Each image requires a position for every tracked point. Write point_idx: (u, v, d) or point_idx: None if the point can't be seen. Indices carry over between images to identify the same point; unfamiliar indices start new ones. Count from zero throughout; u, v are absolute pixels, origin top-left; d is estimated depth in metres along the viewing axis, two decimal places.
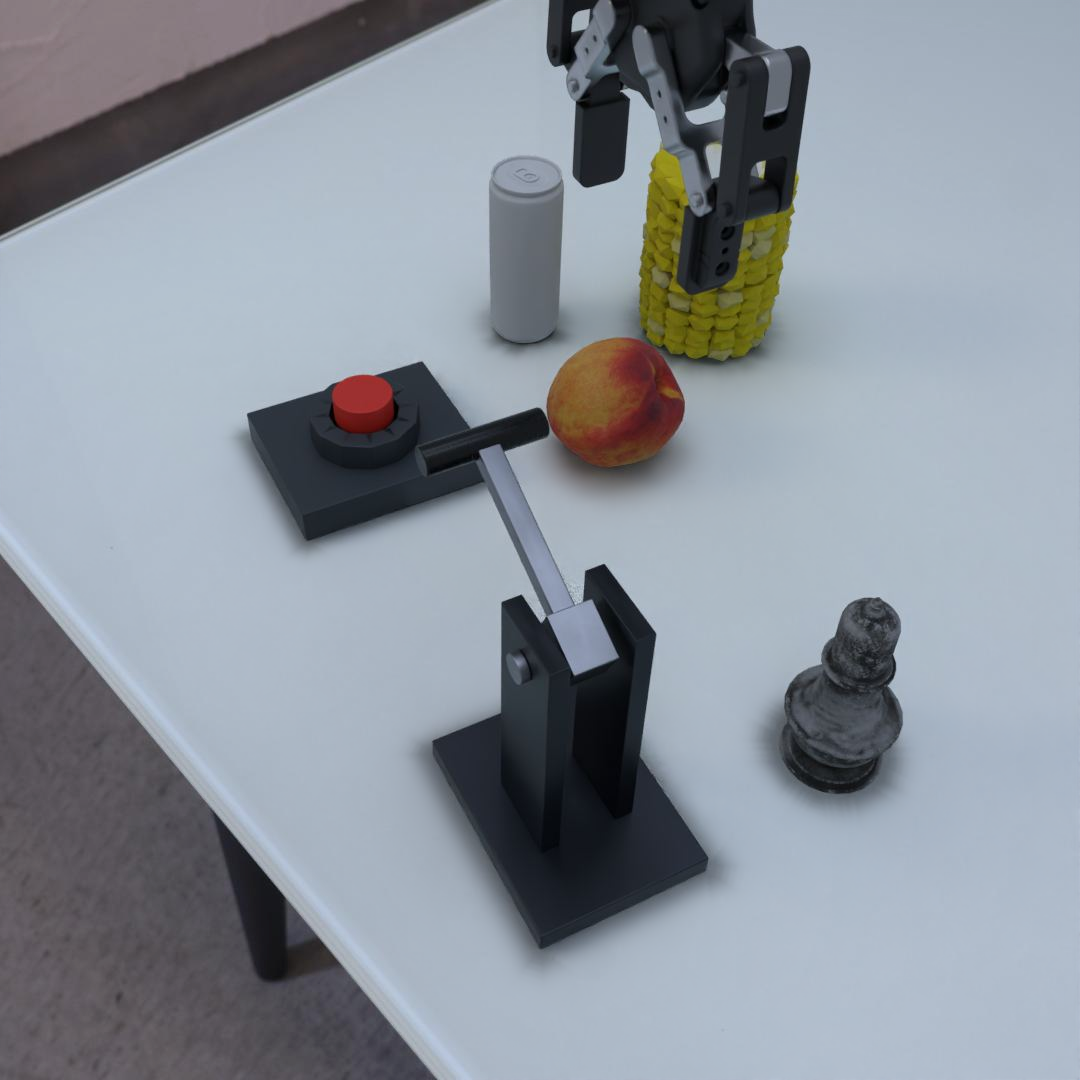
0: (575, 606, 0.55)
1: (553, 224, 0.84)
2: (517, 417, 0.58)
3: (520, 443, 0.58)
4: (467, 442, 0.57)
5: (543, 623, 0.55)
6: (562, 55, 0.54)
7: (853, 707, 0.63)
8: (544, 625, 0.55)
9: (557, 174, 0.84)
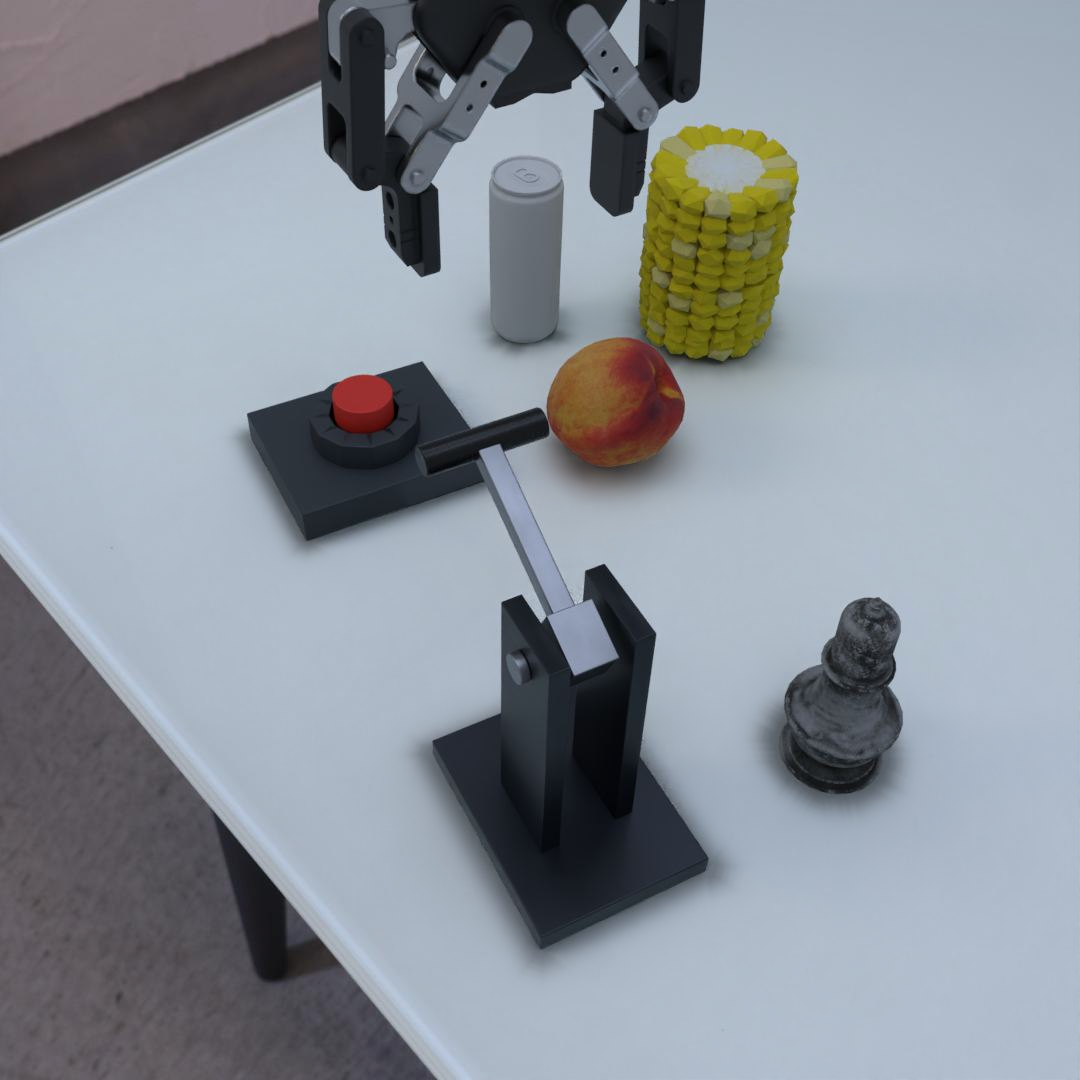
0: (575, 606, 0.55)
1: (553, 224, 0.84)
2: (517, 417, 0.58)
3: (520, 443, 0.58)
4: (467, 442, 0.57)
5: (543, 623, 0.55)
6: None
7: (853, 707, 0.63)
8: (544, 625, 0.55)
9: (557, 174, 0.84)
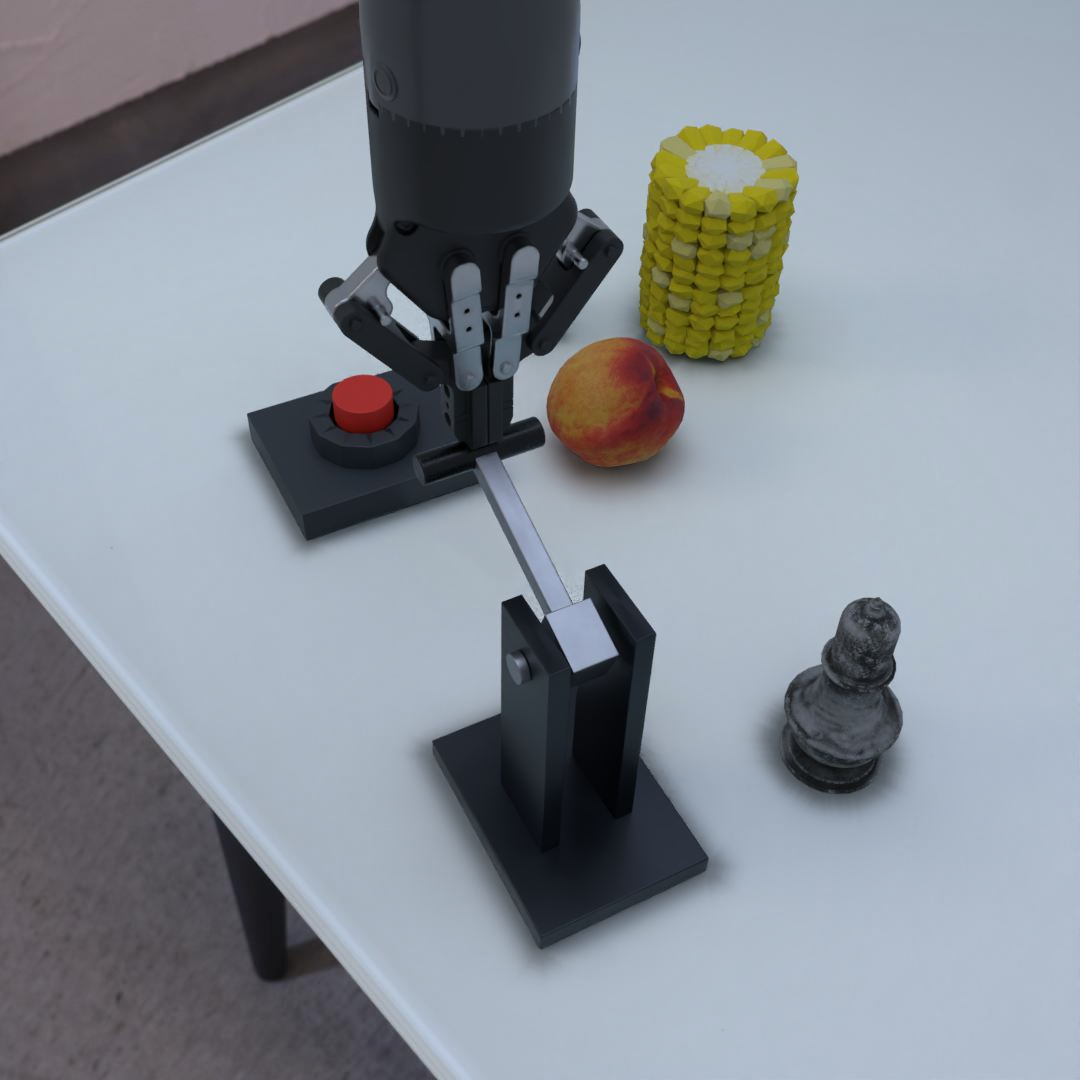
0: (573, 605, 0.55)
1: None
2: (513, 426, 0.59)
3: (517, 451, 0.59)
4: (463, 450, 0.58)
5: (542, 623, 0.55)
6: None
7: (853, 707, 0.63)
8: (543, 625, 0.55)
9: None
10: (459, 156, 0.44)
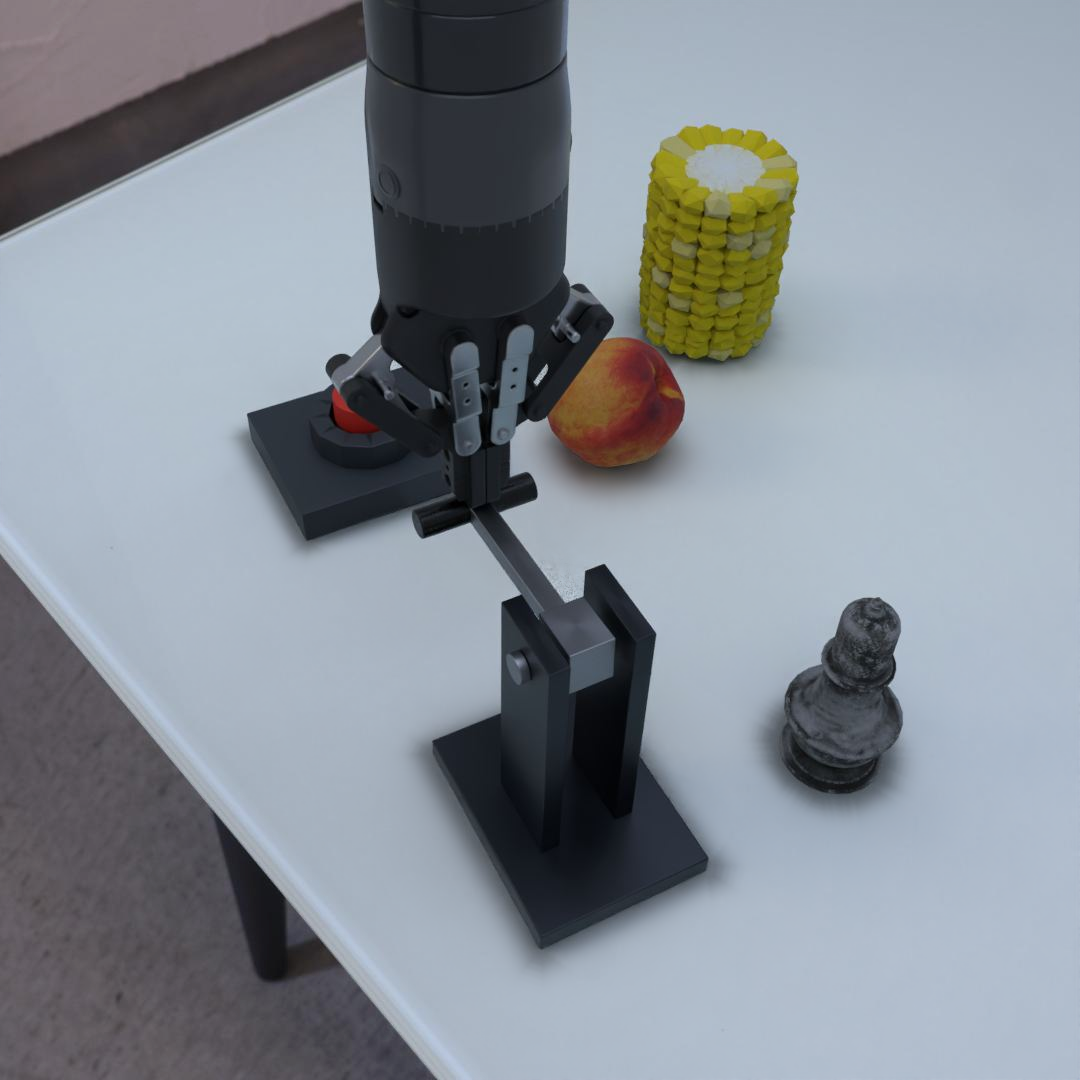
0: (567, 603, 0.56)
1: None
2: None
3: (510, 500, 0.62)
4: (457, 500, 0.61)
5: None
6: None
7: (853, 707, 0.63)
8: None
9: None
10: (458, 250, 0.48)
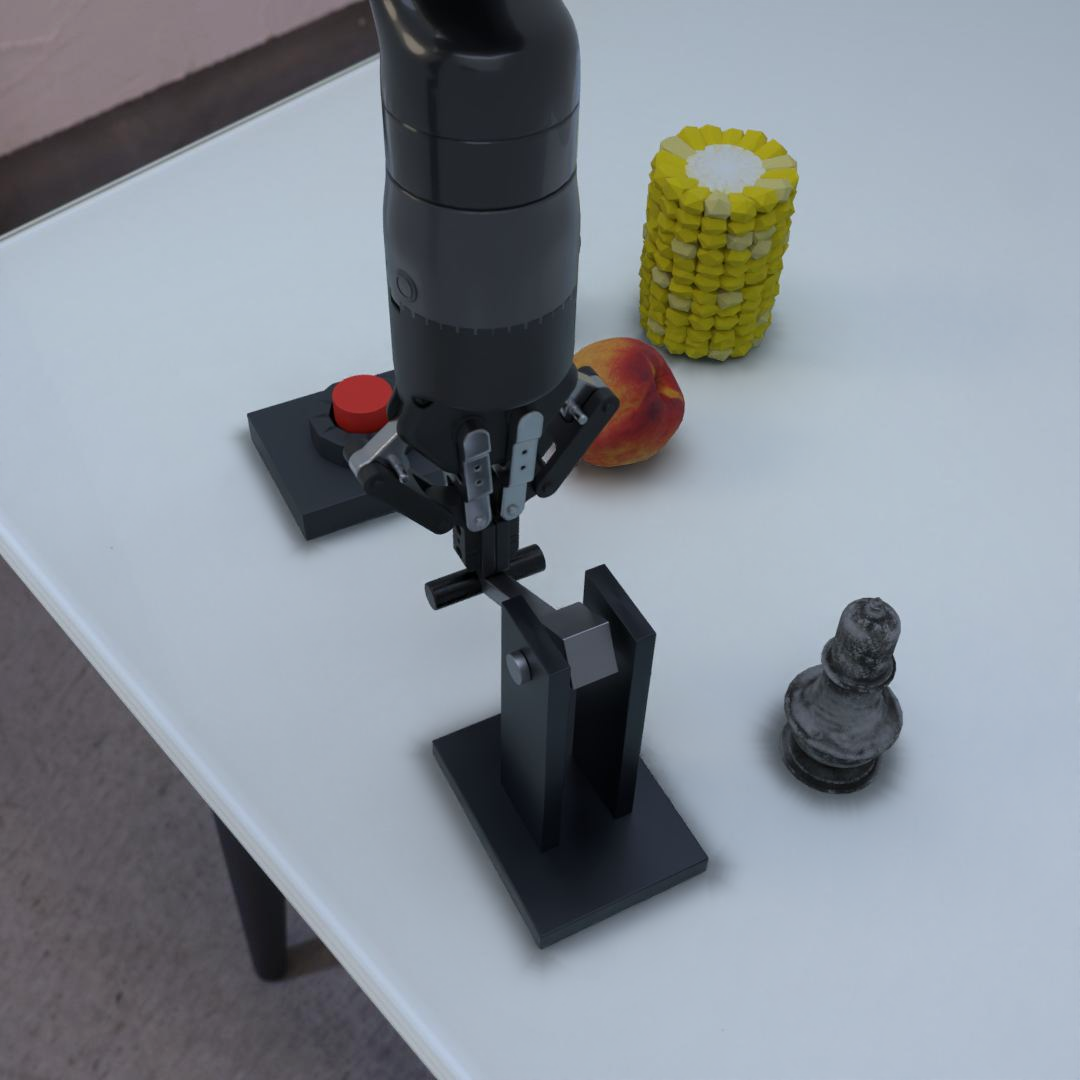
0: None
1: None
2: None
3: (518, 566, 0.64)
4: (465, 570, 0.64)
5: None
6: None
7: (853, 707, 0.63)
8: None
9: None
10: (472, 349, 0.50)
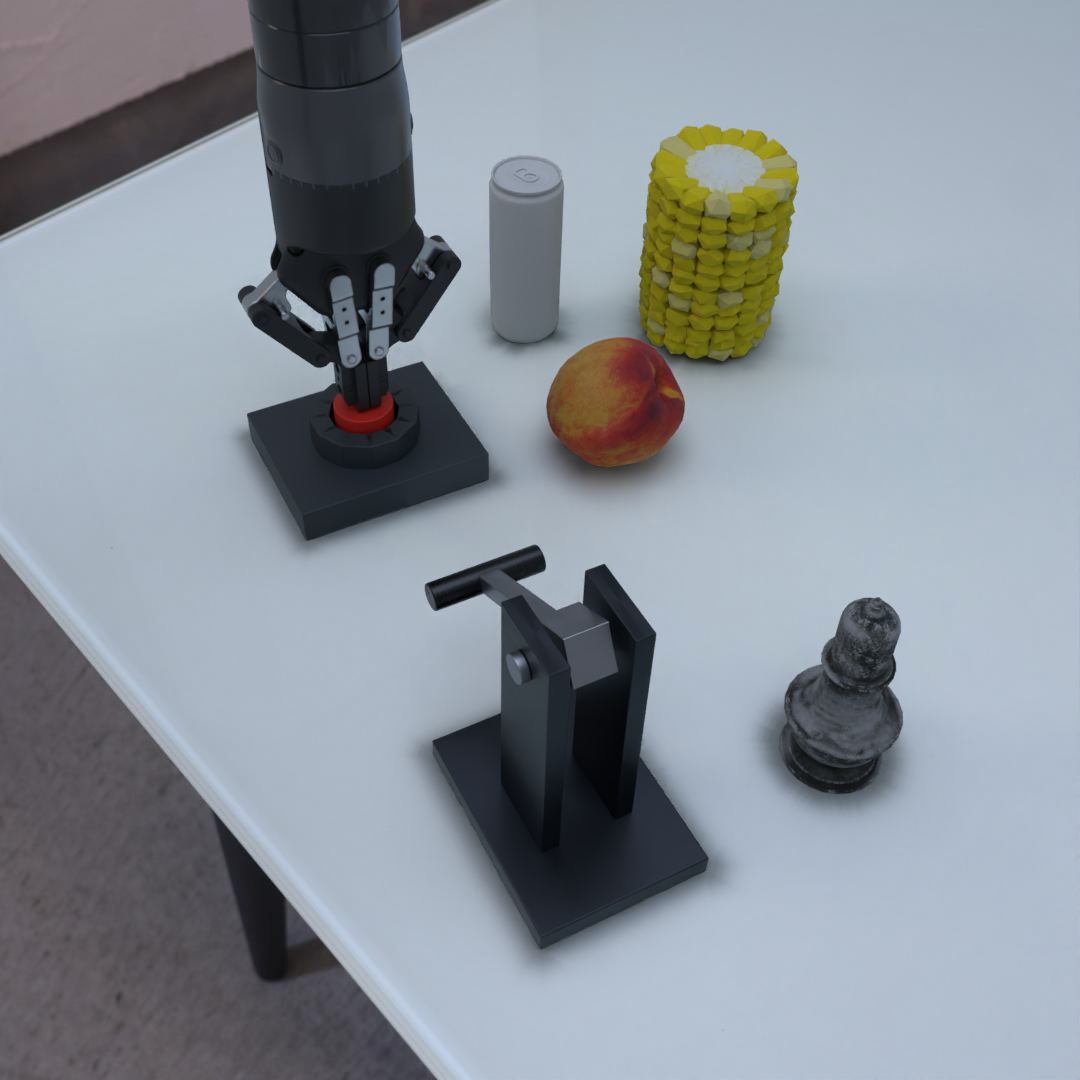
0: None
1: (553, 224, 0.84)
2: (512, 552, 0.65)
3: (518, 567, 0.64)
4: (465, 570, 0.64)
5: None
6: None
7: (853, 707, 0.63)
8: None
9: (557, 174, 0.84)
10: (326, 203, 0.65)
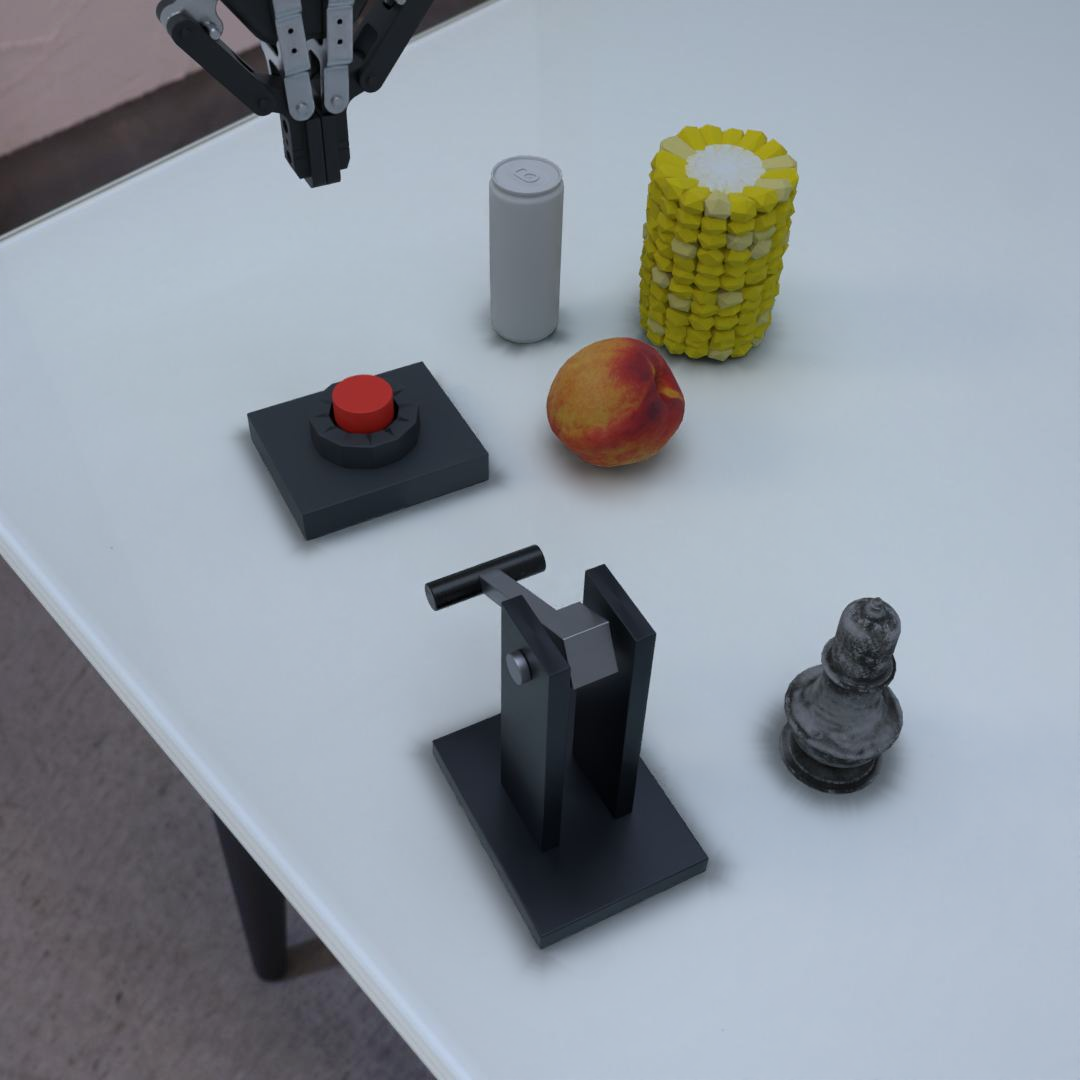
0: None
1: (553, 224, 0.84)
2: (512, 552, 0.65)
3: (518, 567, 0.64)
4: (465, 570, 0.64)
5: None
6: None
7: (853, 707, 0.63)
8: None
9: (557, 174, 0.84)
10: None
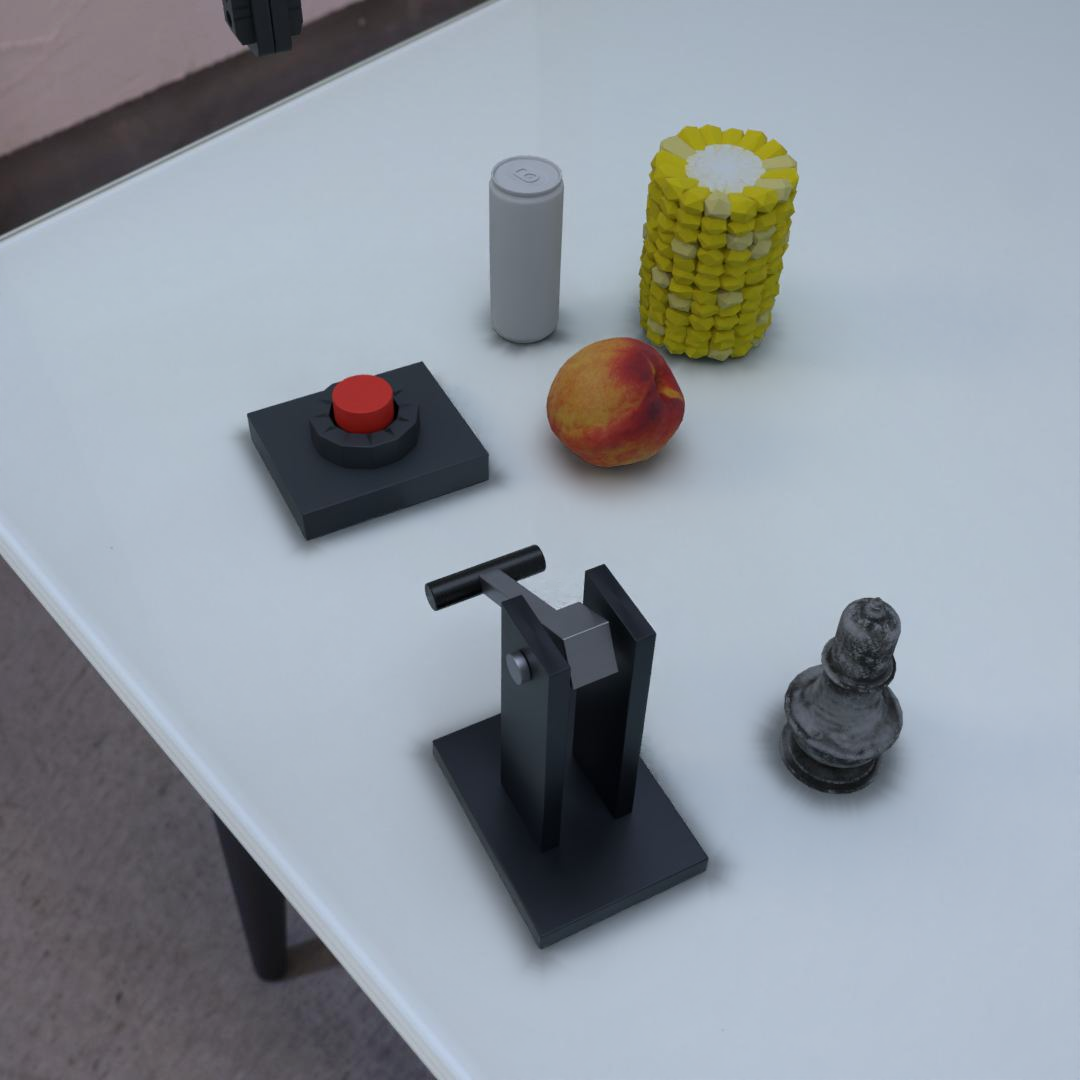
0: None
1: (553, 224, 0.84)
2: (512, 552, 0.65)
3: (518, 567, 0.64)
4: (465, 570, 0.64)
5: None
6: None
7: (853, 707, 0.63)
8: None
9: (557, 174, 0.84)
10: None
